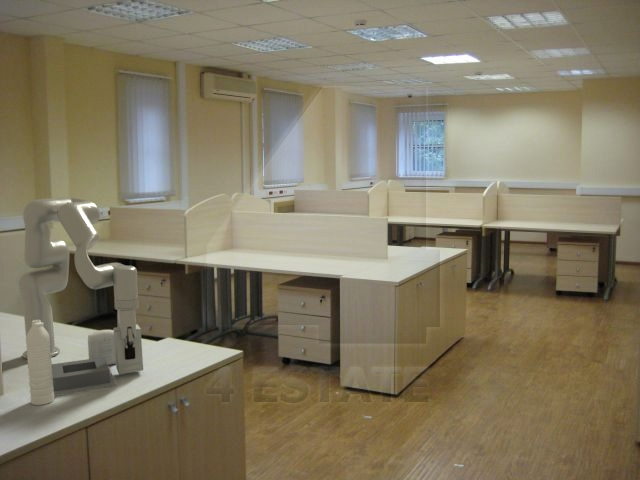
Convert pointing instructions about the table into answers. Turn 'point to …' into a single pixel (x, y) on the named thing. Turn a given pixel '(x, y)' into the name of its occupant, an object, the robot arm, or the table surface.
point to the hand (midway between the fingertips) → (128, 355)
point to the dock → (81, 376)
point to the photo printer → (102, 345)
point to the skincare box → (121, 362)
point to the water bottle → (39, 364)
